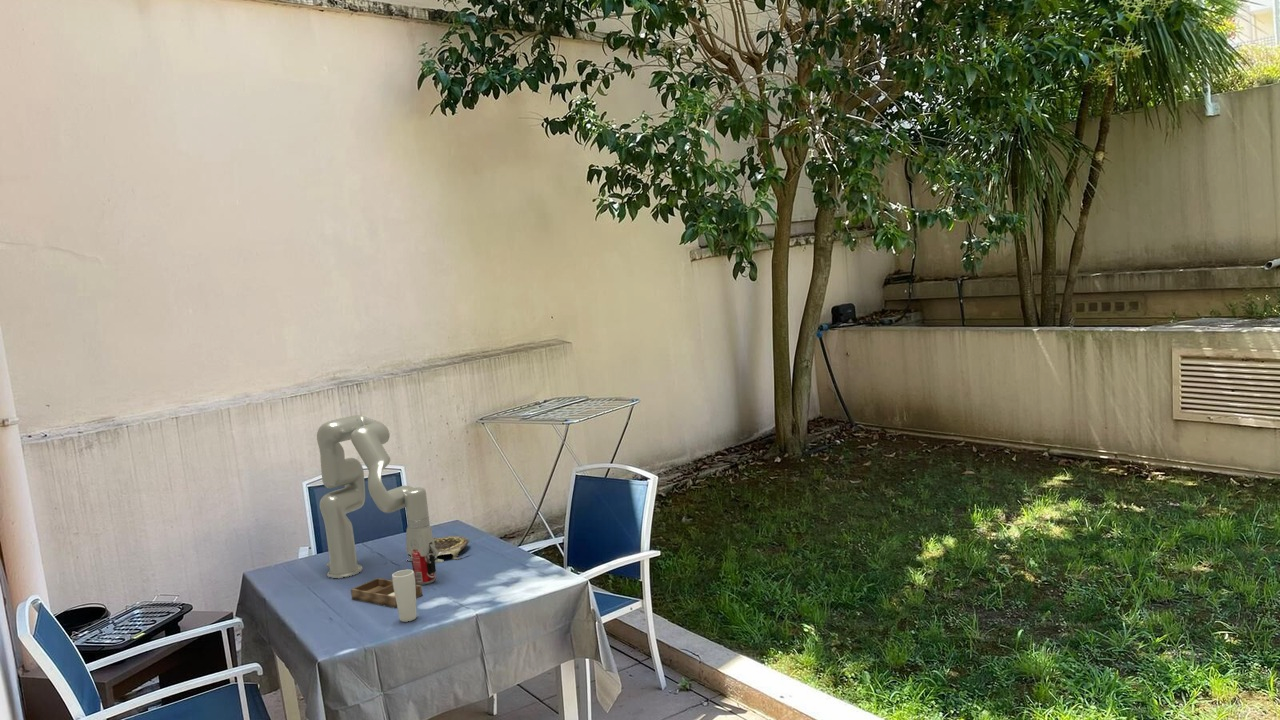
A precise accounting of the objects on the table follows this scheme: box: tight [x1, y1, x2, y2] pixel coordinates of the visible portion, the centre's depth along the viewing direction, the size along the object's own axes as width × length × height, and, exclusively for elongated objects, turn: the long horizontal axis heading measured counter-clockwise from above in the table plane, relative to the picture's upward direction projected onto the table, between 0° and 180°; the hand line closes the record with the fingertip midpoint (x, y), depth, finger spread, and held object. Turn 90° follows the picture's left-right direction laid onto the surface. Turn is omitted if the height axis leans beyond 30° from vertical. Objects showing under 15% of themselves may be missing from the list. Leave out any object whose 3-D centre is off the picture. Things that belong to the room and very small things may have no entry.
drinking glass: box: [391, 569, 418, 623], centre depth 269 cm, size 7×7×15 cm
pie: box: [407, 535, 470, 564], centre depth 338 cm, size 28×27×5 cm
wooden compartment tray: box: [350, 577, 423, 609], centre depth 292 cm, size 22×12×4 cm, turn 56°
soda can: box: [412, 549, 437, 586], centre depth 304 cm, size 7×7×13 cm
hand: (424, 571), depth 304 cm, fingers closed on soda can, 7 cm apart
